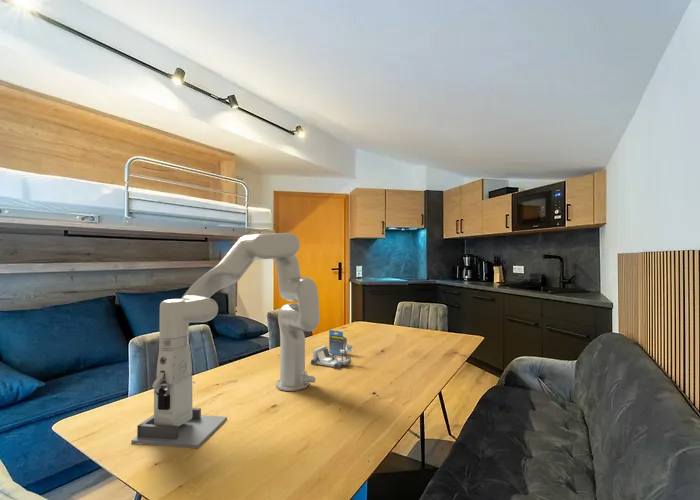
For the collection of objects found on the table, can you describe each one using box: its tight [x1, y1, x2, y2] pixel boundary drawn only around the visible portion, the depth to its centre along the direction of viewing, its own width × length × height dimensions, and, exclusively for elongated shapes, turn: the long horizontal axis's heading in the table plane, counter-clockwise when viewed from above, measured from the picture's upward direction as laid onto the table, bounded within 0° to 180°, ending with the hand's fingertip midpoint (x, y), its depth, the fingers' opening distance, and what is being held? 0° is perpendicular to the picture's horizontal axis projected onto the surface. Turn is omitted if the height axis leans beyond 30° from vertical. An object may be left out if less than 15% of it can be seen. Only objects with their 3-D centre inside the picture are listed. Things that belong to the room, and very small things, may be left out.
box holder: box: [130, 407, 228, 449], centre depth 99 cm, size 19×16×4 cm
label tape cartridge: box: [328, 329, 348, 357], centre depth 178 cm, size 9×4×12 cm, turn 58°
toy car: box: [310, 344, 354, 370], centre depth 161 cm, size 18×10×12 cm
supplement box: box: [153, 375, 193, 426], centre depth 100 cm, size 7×7×13 cm
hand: (173, 402), depth 100 cm, fingers closed on supplement box, 8 cm apart
